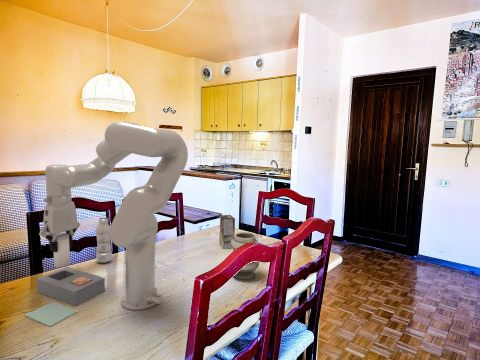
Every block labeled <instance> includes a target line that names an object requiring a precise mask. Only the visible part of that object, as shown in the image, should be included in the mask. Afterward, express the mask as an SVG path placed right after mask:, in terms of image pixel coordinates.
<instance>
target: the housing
mask: <svg viewBox="0 0 480 360" xmlns="http://www.w3.org/2000/svg"><path fill="white" fill-rule="evenodd" d="M79 277H87V279H90V280H91V281H90V282H88V283H86V284H84V285H81V286H78V285H75V284H72V281H74V280H76V279H77V278H79ZM35 280H36V282H35V283H36V292H37V293H39V294H42V295H45V296H47V297H50V298H52V299H55V300H57V301H60V302H63V303H66V304H68V305H70V306H74V307H77V306H79V305H80V304H82V303H84V302H86V301H88V300H90V299H92V298H94V297H96V296H98V295H100V294H102V293H104V292H105V291H106V290H105V288H106V285H105V284H106V281H105V280H106V278H105V277H103V276H100V275H96V274H93V273H89V272H86V271H84V270H83V271H82V270H80V269H76V268H73V267H70V266H65V267H64V268H63V267H62V268H61V269H58V270H56V271H55V270H54V271H53V272H49V273H46V274H44V275H42V276H38V277H37V278H35Z"/></svg>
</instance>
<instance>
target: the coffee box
mask: <svg viewBox="0 0 480 360" xmlns="http://www.w3.org/2000/svg"><path fill="white" fill-rule="evenodd" d="M235 227H236V218H235V217H234V216H233V215H232V214H221V215H220V216H219V239H218V240H219V241H218V242H219V245H220V247H221V248H222V249H223V250H226V249H233V248H232V247H231V241H232V240H233V239H234V238H235V234H236V233H235V232H236V230H235V229H236V228H235Z"/></svg>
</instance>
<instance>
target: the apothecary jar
mask: <svg viewBox="0 0 480 360" xmlns="http://www.w3.org/2000/svg"><path fill="white" fill-rule="evenodd" d="M248 242H259V241H258V239H256V234H254V233H253V232H248V231H243V232H242V231H240V232H237V233H235V234H234V239H233V240H232V241H231V247H232V248H231V249H233V251H234V250H235V249H237V248H238V247H240V246H242V245H243V244H245V243H248ZM233 251H232V252H233ZM259 266H260V262H252V263H249V264H247V265H246V266H245V267H244V268H242V269H241V270H240V271H239V272H238V273H237V274H236V275H235V276H234V277H233V279H234V280H236V281H238V282H239V281H240V282H250V281H253V280H255V279H256V277H257V276H256V273H254V271H256V270H257V269H258V268H259Z"/></svg>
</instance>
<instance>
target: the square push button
mask: <svg viewBox="0 0 480 360" xmlns="http://www.w3.org/2000/svg"><path fill="white" fill-rule="evenodd" d="M90 281H91V280H90V279H87V277H79V278H77V279H76V280H74V281H72V284H75V285H78V286H81V285H84V284H86V283H88V282H90Z"/></svg>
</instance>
